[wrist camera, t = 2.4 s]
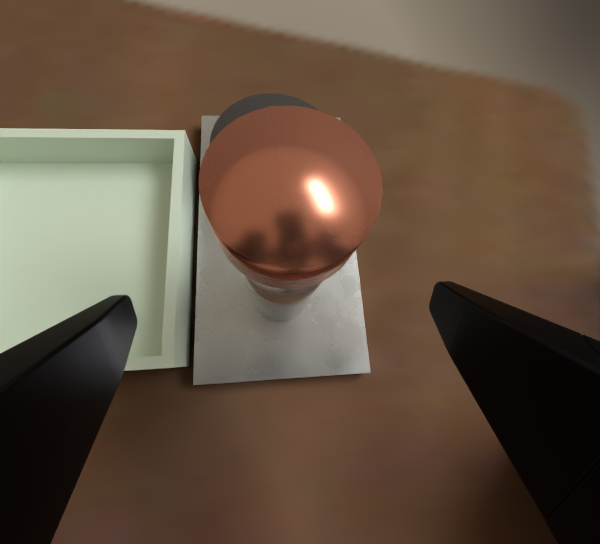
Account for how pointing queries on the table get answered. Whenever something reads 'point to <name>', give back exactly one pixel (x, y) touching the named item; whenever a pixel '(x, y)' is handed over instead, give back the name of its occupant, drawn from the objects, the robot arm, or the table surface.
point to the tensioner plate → (250, 323)
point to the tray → (98, 233)
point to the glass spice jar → (289, 201)
